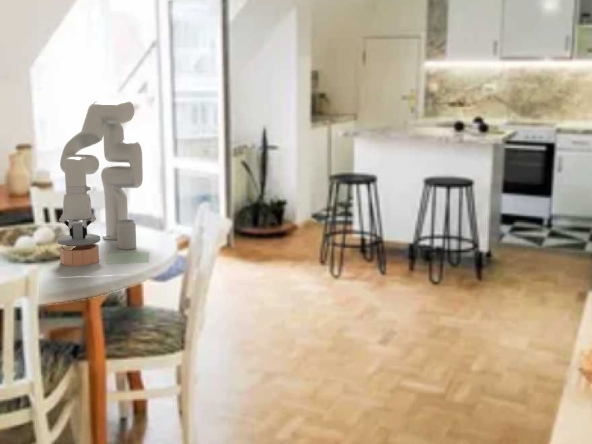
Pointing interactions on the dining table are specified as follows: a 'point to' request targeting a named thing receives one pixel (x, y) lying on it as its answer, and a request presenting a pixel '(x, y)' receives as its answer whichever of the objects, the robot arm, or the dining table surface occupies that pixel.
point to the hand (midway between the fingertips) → (78, 237)
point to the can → (126, 234)
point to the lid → (78, 237)
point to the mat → (127, 257)
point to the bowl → (80, 255)
